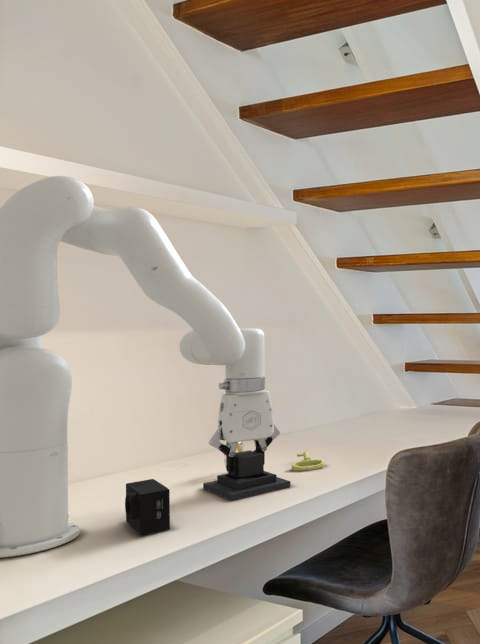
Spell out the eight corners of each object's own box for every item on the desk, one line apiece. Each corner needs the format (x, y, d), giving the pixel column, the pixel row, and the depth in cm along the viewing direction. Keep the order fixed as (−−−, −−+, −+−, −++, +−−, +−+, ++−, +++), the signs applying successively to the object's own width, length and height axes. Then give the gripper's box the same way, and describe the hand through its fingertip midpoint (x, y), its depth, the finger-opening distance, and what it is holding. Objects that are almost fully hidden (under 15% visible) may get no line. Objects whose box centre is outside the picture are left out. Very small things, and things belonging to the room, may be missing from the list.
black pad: (241, 477, 121) (241, 458, 121) (227, 472, 125) (227, 454, 126) (263, 473, 125) (263, 454, 125) (249, 468, 129) (249, 450, 129)
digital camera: (117, 524, 104) (117, 484, 104) (153, 516, 108) (153, 477, 108) (131, 538, 96) (131, 495, 96) (169, 529, 100) (169, 488, 100)
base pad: (231, 500, 116) (231, 487, 116) (203, 488, 125) (203, 476, 125) (290, 486, 125) (290, 474, 125) (259, 476, 134) (259, 464, 134)
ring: (238, 469, 142) (237, 435, 142) (250, 469, 141) (250, 435, 141) (219, 476, 135) (218, 441, 135) (232, 477, 134) (231, 442, 134)
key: (307, 458, 151) (306, 450, 151) (327, 467, 142) (327, 458, 142) (278, 464, 146) (278, 455, 146) (297, 473, 137) (297, 464, 137)
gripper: (210, 391, 117) (210, 483, 116) (292, 383, 130) (292, 466, 129) (195, 388, 121) (195, 477, 121) (275, 381, 134) (276, 462, 134)
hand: (245, 471), depth 125 cm, fingers closed on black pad, 4 cm apart
